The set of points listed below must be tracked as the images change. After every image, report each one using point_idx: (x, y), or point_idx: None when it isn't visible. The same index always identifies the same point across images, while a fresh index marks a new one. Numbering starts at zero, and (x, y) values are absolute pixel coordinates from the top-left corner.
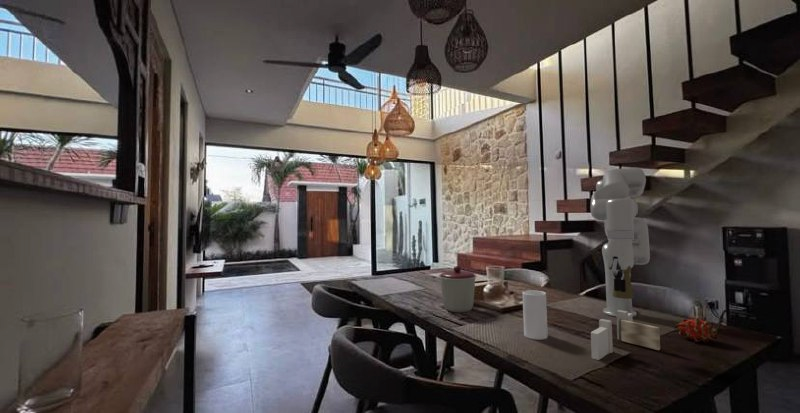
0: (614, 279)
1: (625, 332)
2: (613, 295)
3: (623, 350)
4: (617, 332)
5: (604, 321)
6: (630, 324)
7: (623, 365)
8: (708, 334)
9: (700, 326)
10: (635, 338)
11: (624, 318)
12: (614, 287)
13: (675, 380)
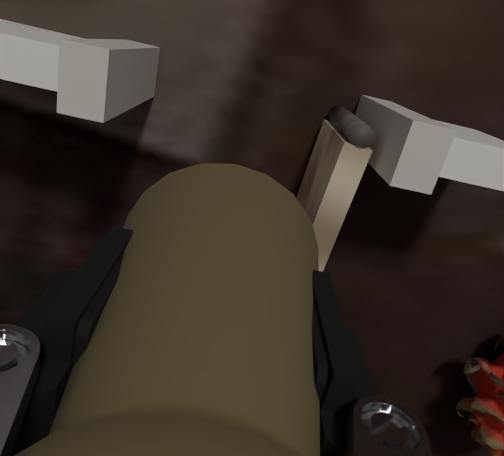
0: (51, 317)
1: (324, 150)
2: (161, 183)
3: (205, 136)
4: (369, 101)
5: (58, 79)
6: (321, 193)
7: (20, 153)
8: (477, 425)
9: (499, 431)
10: (304, 190)
11: (380, 163)
12: (103, 242)
13: (17, 302)
